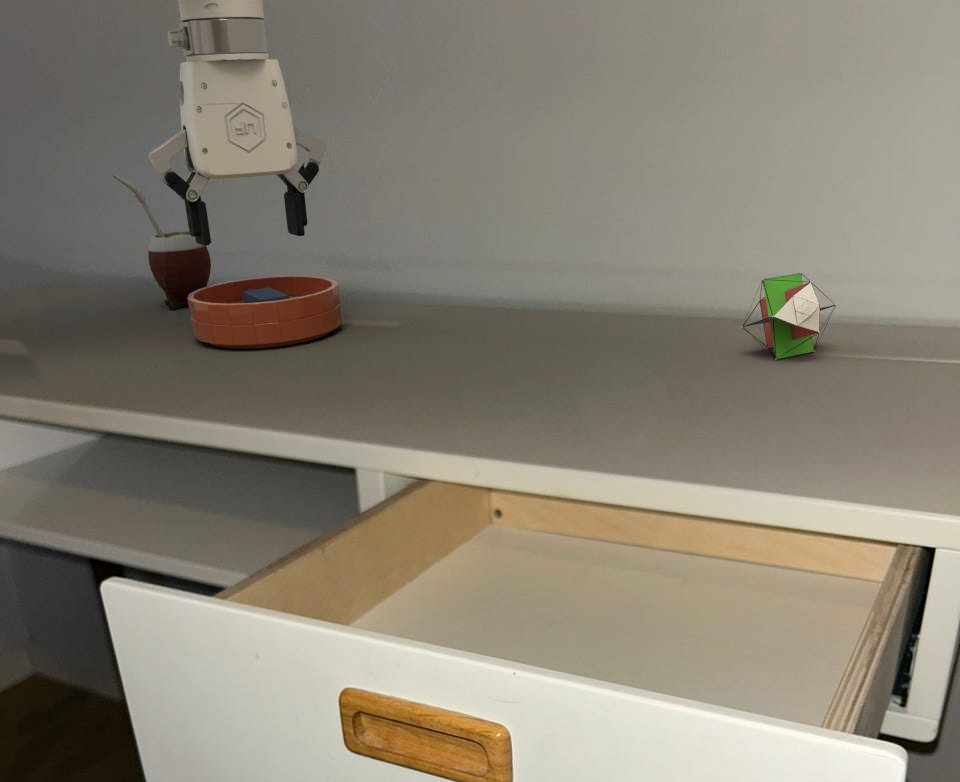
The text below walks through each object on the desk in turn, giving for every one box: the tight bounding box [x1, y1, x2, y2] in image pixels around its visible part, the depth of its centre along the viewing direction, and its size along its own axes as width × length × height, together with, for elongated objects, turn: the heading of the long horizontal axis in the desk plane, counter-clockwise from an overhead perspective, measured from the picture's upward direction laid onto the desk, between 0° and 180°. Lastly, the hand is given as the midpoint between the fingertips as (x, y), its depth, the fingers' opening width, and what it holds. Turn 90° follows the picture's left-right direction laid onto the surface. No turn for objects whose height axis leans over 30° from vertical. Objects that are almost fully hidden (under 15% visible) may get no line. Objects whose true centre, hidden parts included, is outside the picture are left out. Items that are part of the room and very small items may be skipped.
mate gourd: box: [111, 173, 212, 311], centre depth 125 cm, size 8×8×15 cm
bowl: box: [187, 275, 343, 350], centre depth 111 cm, size 15×15×4 cm
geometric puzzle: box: [740, 271, 838, 361], centre depth 91 cm, size 7×7×8 cm
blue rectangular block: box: [242, 287, 289, 303], centre depth 111 cm, size 3×6×4 cm, turn 29°
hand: (250, 239), depth 107 cm, fingers open, 9 cm apart
